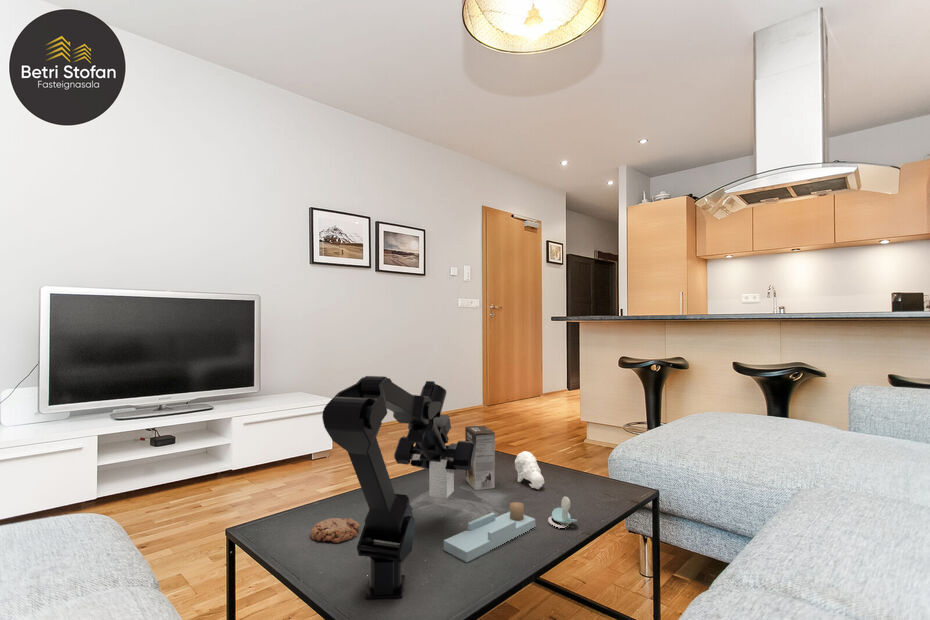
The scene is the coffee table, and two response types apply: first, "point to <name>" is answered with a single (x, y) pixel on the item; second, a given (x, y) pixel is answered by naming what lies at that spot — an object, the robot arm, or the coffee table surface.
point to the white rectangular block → (440, 480)
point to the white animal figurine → (528, 469)
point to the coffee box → (481, 457)
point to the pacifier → (562, 514)
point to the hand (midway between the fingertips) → (443, 470)
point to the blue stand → (489, 533)
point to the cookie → (335, 530)
